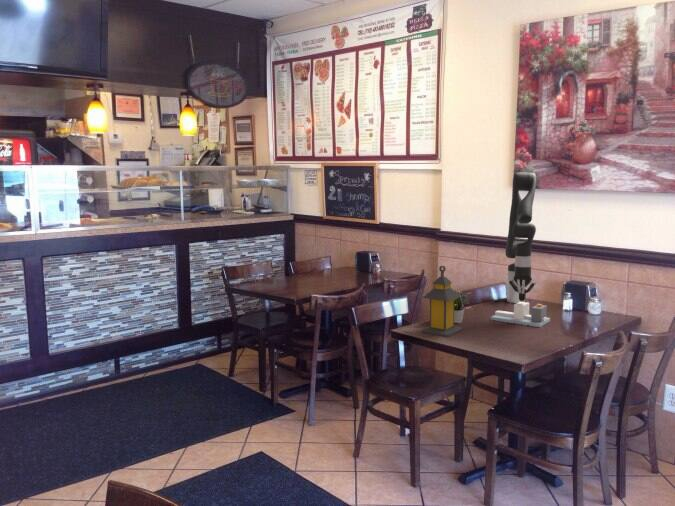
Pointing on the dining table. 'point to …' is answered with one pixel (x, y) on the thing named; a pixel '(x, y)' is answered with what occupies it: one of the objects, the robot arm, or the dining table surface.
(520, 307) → the din module
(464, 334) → the dining table surface
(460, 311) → the house plant
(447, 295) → the lantern
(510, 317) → the rail board
